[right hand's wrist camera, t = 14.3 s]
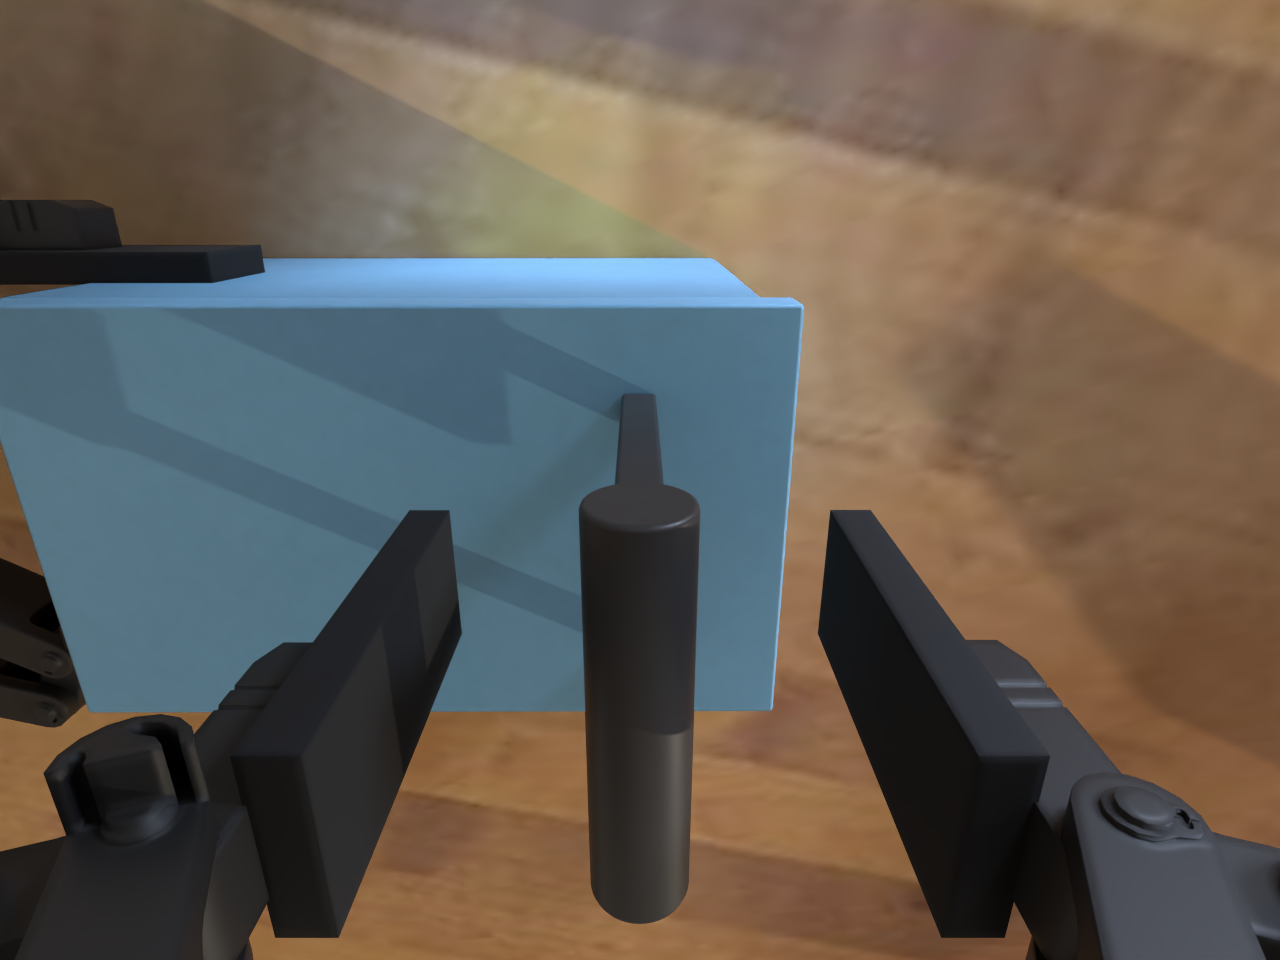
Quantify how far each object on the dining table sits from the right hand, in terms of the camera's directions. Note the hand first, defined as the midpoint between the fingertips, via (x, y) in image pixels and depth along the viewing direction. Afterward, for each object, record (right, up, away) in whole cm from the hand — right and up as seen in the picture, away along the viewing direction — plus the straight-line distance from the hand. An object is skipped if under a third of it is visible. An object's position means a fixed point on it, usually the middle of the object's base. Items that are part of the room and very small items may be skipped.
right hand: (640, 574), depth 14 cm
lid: (-5, +1, +3) cm, 6 cm away
